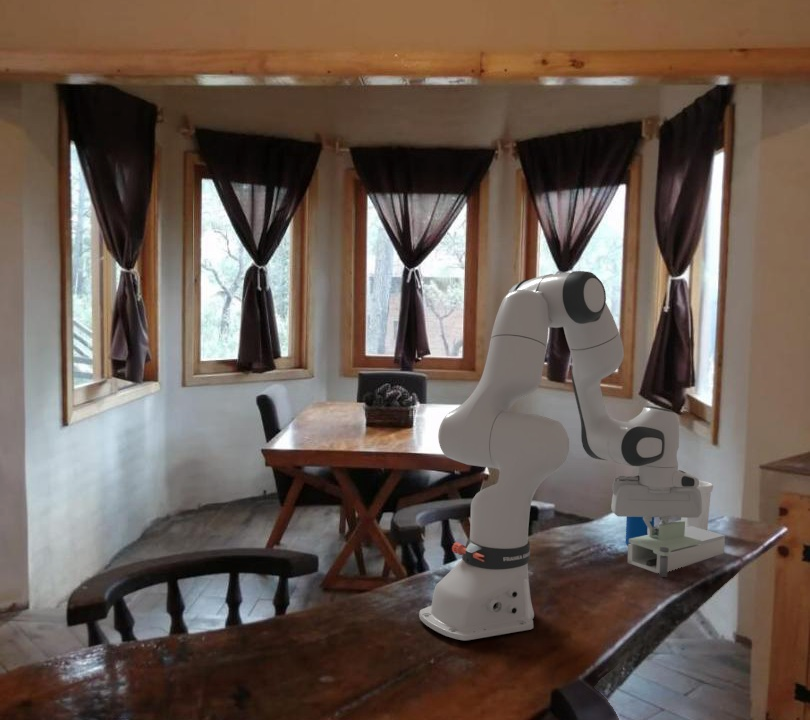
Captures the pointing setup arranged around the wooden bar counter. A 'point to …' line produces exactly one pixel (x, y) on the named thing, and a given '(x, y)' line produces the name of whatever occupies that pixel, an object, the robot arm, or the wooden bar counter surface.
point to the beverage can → (636, 527)
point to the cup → (702, 520)
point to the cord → (651, 562)
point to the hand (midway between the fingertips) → (655, 535)
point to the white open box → (679, 552)
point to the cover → (666, 539)
